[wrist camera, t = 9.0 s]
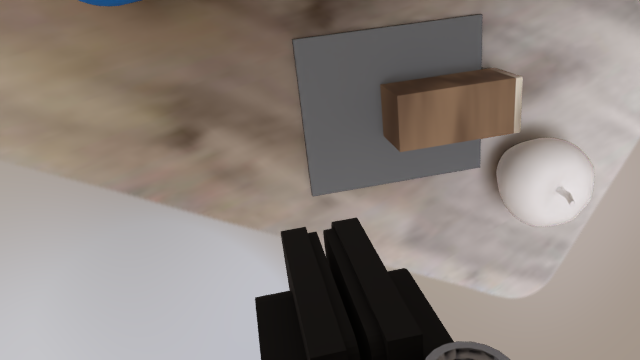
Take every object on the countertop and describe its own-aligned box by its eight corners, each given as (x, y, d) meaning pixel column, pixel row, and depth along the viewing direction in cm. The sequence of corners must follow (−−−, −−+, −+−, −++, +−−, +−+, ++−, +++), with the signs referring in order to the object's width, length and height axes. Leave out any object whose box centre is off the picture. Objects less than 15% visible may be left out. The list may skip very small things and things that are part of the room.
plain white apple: (499, 117, 40) (559, 147, 33) (571, 136, 42) (644, 169, 35) (467, 195, 43) (517, 240, 35) (537, 211, 44) (599, 256, 37)
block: (380, 84, 37) (494, 67, 38) (383, 136, 39) (493, 118, 40) (397, 95, 34) (522, 76, 35) (400, 152, 35) (520, 132, 36)
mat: (479, 14, 37) (482, 14, 37) (477, 165, 42) (480, 167, 41) (292, 39, 35) (293, 40, 35) (311, 194, 40) (312, 196, 40)
